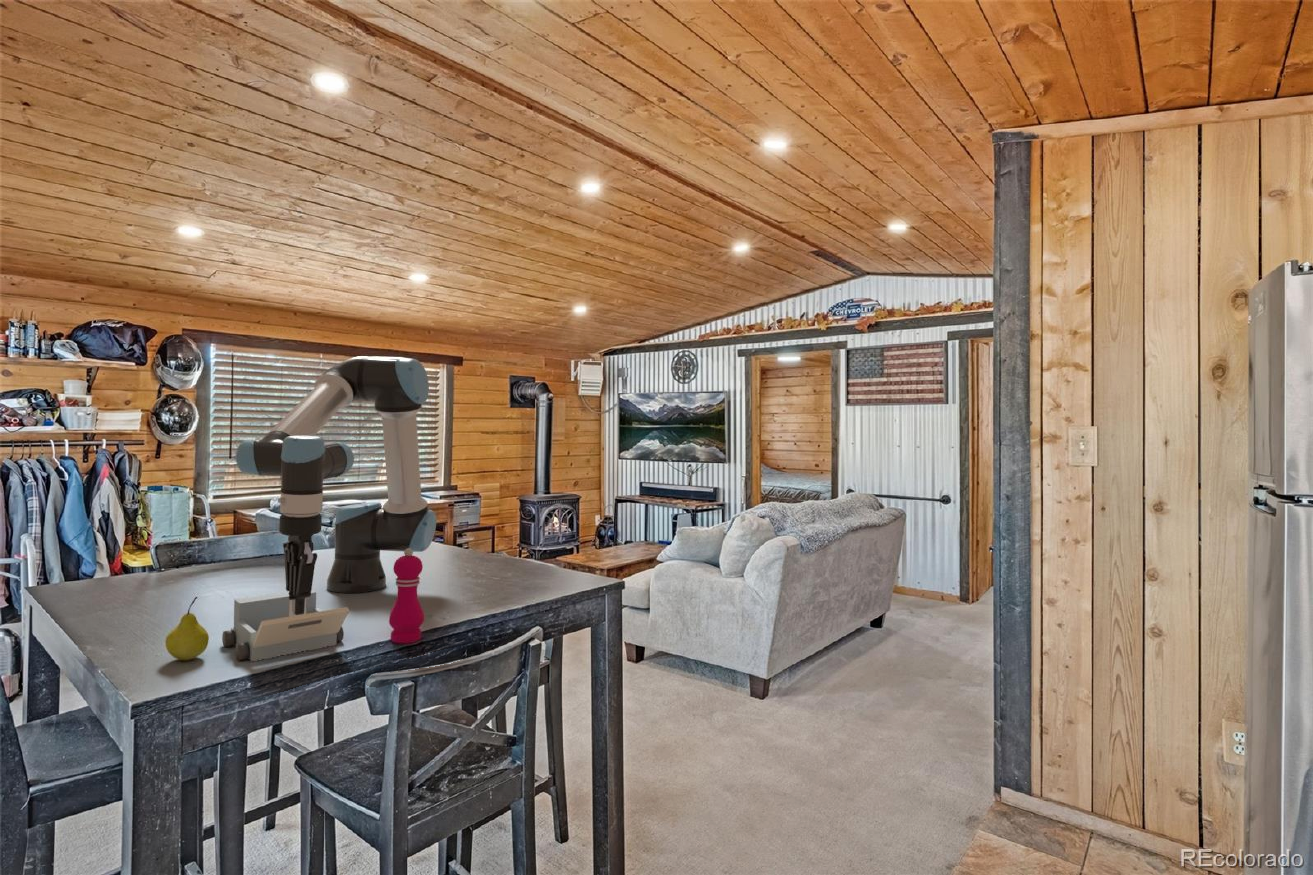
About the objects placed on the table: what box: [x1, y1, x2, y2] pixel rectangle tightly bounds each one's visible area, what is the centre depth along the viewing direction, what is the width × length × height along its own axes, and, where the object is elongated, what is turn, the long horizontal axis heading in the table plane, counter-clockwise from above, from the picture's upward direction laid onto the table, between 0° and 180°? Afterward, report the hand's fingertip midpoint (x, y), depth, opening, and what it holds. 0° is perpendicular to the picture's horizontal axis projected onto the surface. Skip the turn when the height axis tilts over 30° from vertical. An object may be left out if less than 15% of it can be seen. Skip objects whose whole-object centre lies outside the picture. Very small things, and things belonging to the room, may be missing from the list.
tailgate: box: [252, 606, 350, 648], centre depth 139 cm, size 1×16×8 cm
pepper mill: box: [388, 548, 425, 644], centre depth 153 cm, size 7×7×20 cm
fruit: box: [164, 596, 210, 661], centre depth 136 cm, size 7×7×12 cm
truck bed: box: [221, 589, 345, 663], centre depth 147 cm, size 15×20×9 cm
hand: (296, 628), depth 141 cm, fingers closed
